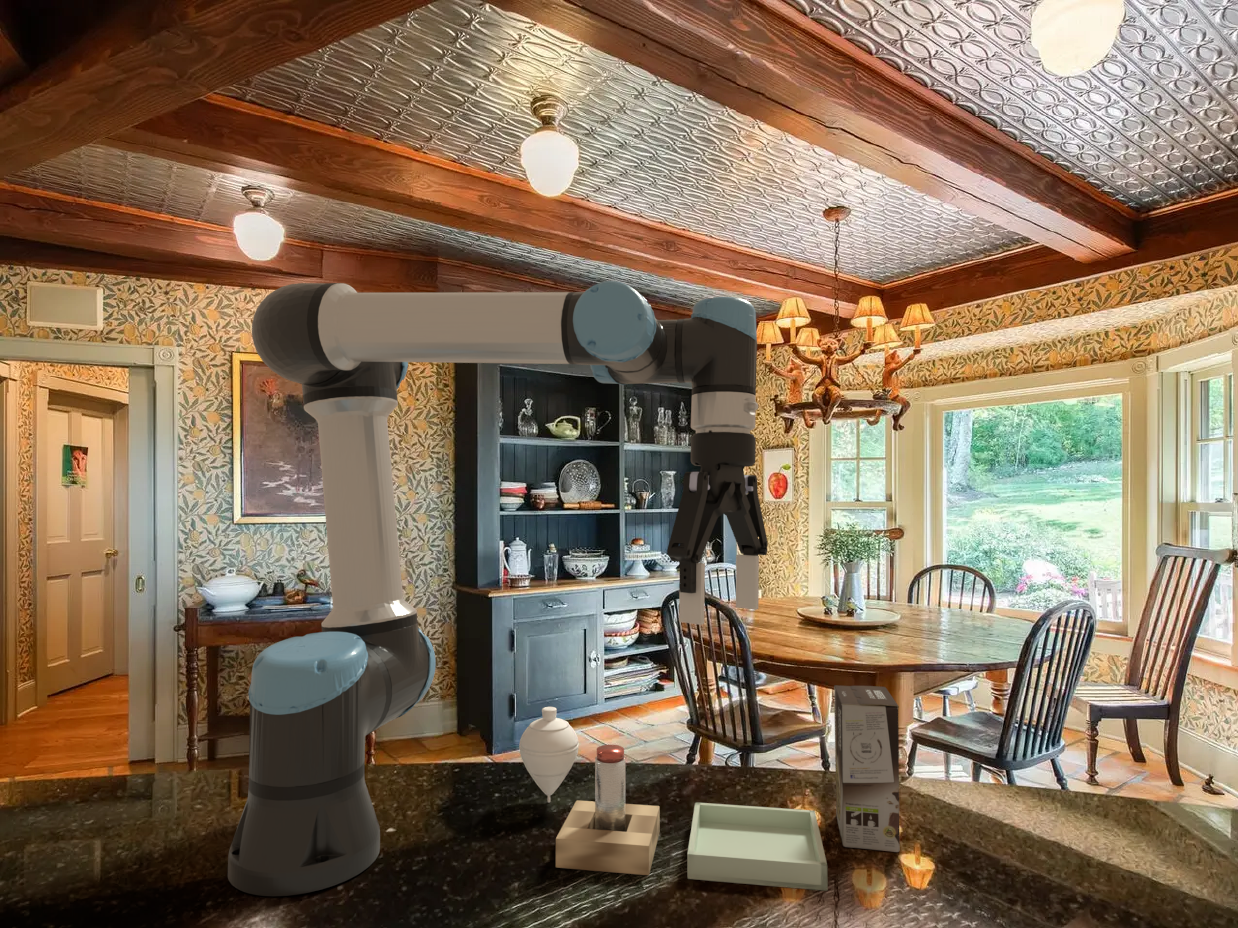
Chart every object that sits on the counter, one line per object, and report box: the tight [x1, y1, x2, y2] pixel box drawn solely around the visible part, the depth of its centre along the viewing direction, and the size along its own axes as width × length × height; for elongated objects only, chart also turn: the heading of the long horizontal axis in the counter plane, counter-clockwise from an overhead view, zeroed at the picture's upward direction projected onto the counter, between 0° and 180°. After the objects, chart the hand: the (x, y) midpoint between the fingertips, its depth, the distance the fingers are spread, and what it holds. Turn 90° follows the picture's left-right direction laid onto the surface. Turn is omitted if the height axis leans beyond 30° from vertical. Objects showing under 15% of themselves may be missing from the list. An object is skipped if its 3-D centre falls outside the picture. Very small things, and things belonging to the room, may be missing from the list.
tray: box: [686, 801, 829, 892], centre depth 81 cm, size 14×13×2 cm
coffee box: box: [833, 684, 901, 853], centre depth 87 cm, size 9×6×16 cm
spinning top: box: [518, 706, 580, 803], centre depth 95 cm, size 8×8×12 cm
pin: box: [594, 744, 626, 832], centre depth 83 cm, size 3×3×11 cm
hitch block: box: [555, 800, 661, 876], centre depth 83 cm, size 10×10×3 cm
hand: (721, 615), depth 85 cm, fingers open, 13 cm apart
